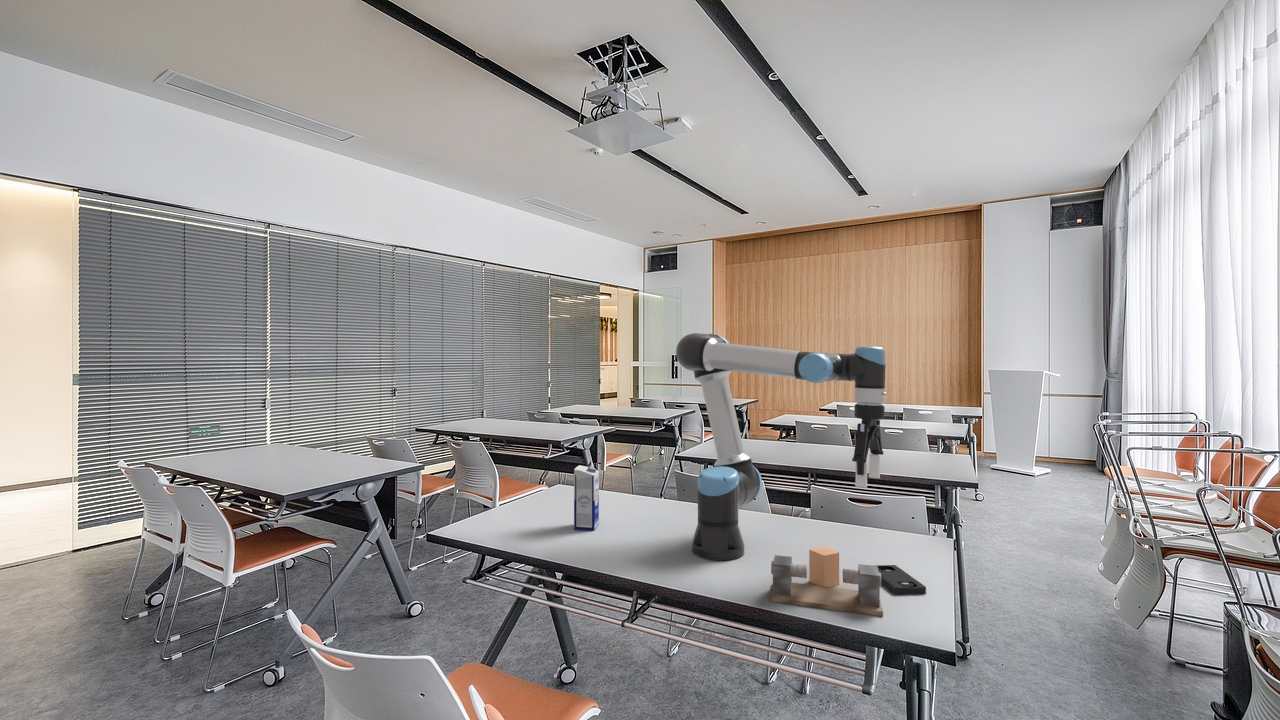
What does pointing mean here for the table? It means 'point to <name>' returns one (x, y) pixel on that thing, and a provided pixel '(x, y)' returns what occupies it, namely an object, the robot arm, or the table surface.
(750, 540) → the table surface
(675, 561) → the table surface
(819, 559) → the coupler block
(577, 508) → the milk carton
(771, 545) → the table surface
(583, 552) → the table surface
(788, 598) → the shaft bench
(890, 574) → the vhs tape
